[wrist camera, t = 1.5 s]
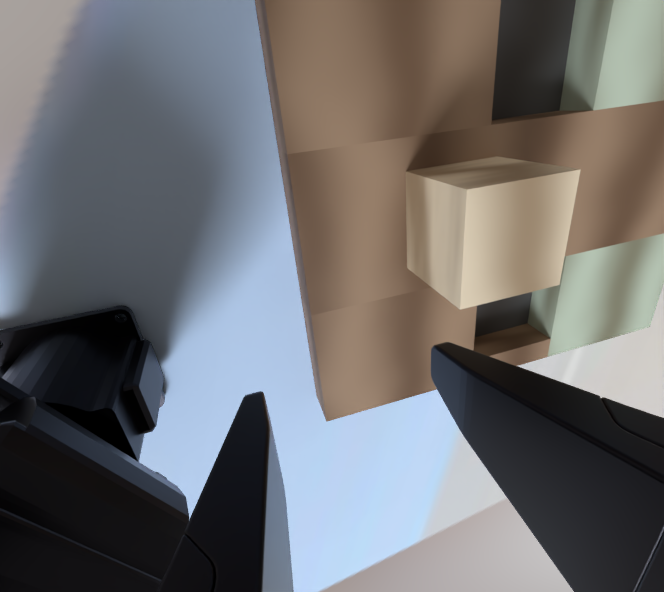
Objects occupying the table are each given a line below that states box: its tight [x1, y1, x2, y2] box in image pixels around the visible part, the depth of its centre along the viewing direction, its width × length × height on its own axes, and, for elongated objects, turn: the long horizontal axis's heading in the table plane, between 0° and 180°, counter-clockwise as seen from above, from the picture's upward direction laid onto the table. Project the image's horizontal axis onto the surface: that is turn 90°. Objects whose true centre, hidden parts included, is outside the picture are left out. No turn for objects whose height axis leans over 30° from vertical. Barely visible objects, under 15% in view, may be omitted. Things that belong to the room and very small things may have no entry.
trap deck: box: [255, 0, 664, 421], centre depth 22 cm, size 25×23×2 cm
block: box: [406, 156, 581, 310], centre depth 18 cm, size 5×5×5 cm
